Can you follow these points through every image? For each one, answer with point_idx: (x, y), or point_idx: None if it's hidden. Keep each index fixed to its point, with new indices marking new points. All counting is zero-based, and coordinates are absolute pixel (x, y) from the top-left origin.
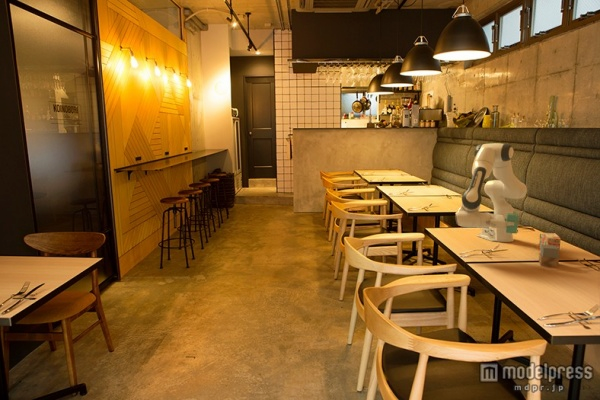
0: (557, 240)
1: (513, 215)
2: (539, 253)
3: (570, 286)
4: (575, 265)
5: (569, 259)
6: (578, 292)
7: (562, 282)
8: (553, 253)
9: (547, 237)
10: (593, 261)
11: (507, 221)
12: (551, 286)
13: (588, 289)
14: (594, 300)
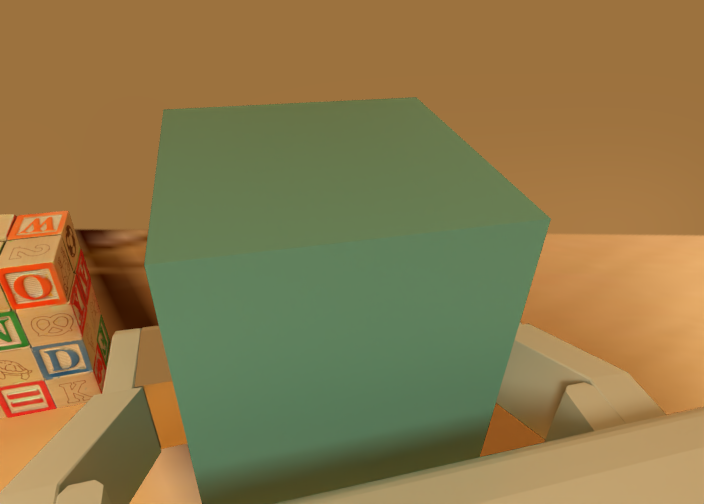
0: (70, 235)
1: (460, 144)
2: None
3: (608, 285)
4: None
5: None
6: (657, 266)
7: (581, 309)
8: None
9: (22, 268)
10: (104, 231)
11: (492, 396)
12: (701, 339)
13: (578, 245)
14: (688, 235)
